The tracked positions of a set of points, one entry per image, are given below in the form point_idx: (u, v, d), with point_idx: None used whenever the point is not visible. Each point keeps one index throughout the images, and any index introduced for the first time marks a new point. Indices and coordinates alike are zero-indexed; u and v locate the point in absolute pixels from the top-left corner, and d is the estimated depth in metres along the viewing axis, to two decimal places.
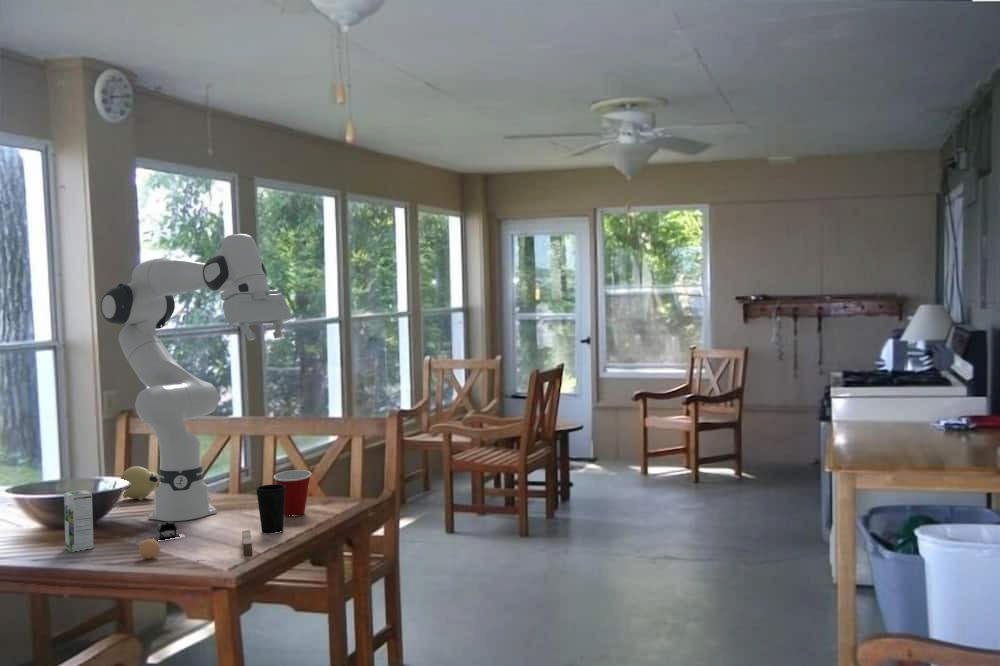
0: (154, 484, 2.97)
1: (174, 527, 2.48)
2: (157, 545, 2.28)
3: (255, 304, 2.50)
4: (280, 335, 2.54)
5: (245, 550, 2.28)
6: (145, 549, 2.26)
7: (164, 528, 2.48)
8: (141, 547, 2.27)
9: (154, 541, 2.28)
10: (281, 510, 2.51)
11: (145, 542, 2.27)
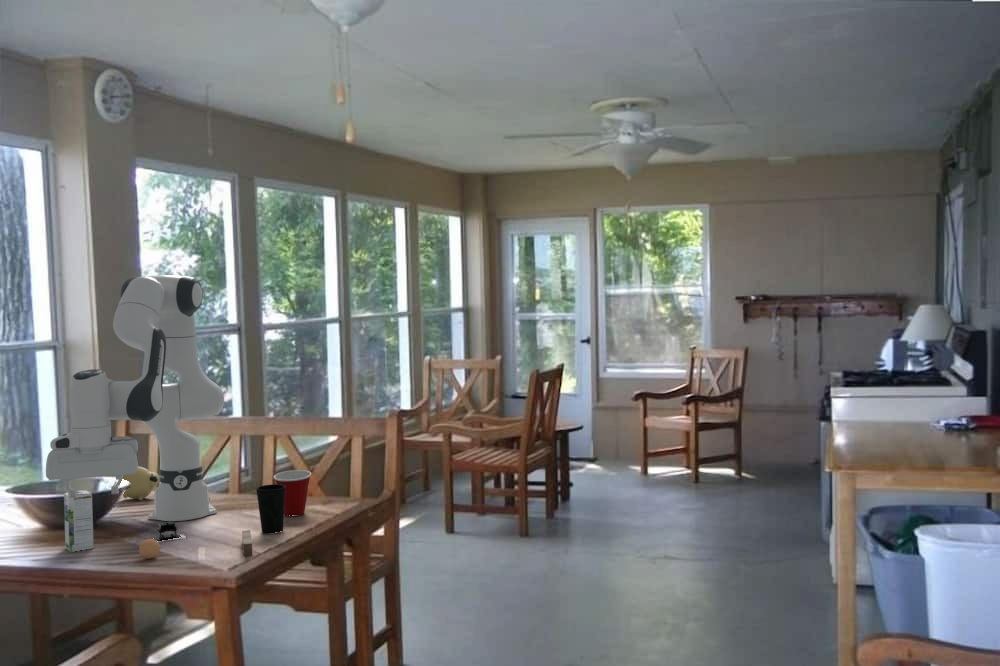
0: (154, 484, 2.97)
1: (174, 527, 2.47)
2: (157, 545, 2.28)
3: (84, 458, 2.22)
4: (114, 492, 2.25)
5: (245, 550, 2.28)
6: (145, 549, 2.26)
7: (164, 528, 2.47)
8: (141, 547, 2.27)
9: (154, 541, 2.28)
10: (281, 510, 2.51)
11: (145, 542, 2.27)
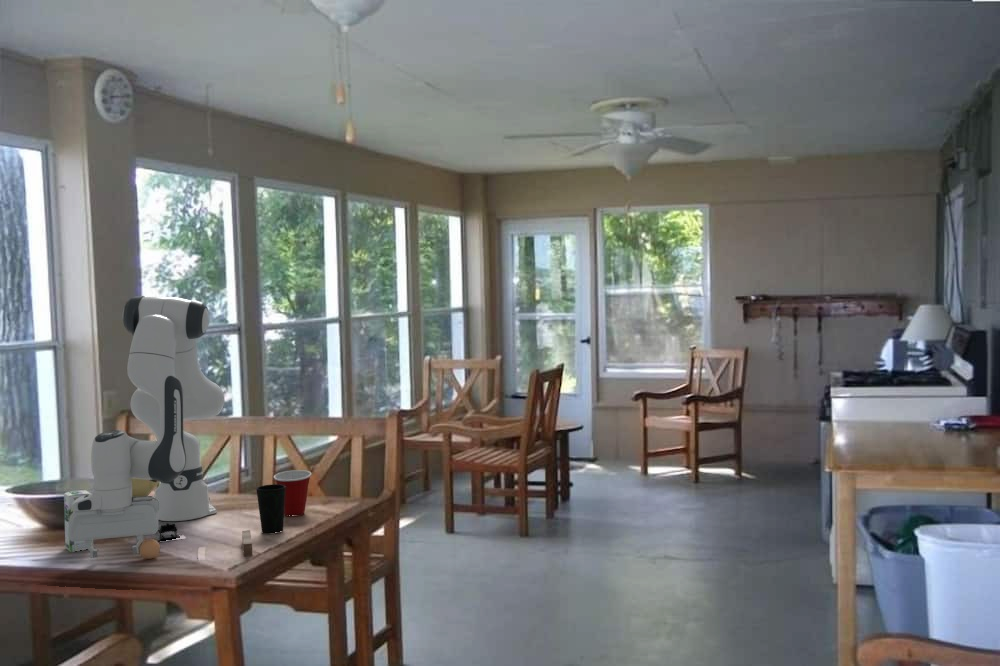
0: (154, 484, 2.97)
1: (174, 528, 2.47)
2: (157, 545, 2.28)
3: (106, 519, 2.24)
4: (135, 552, 2.27)
5: (245, 550, 2.28)
6: (145, 549, 2.26)
7: (164, 529, 2.47)
8: (141, 547, 2.27)
9: (154, 541, 2.28)
10: (281, 510, 2.51)
11: (145, 542, 2.27)
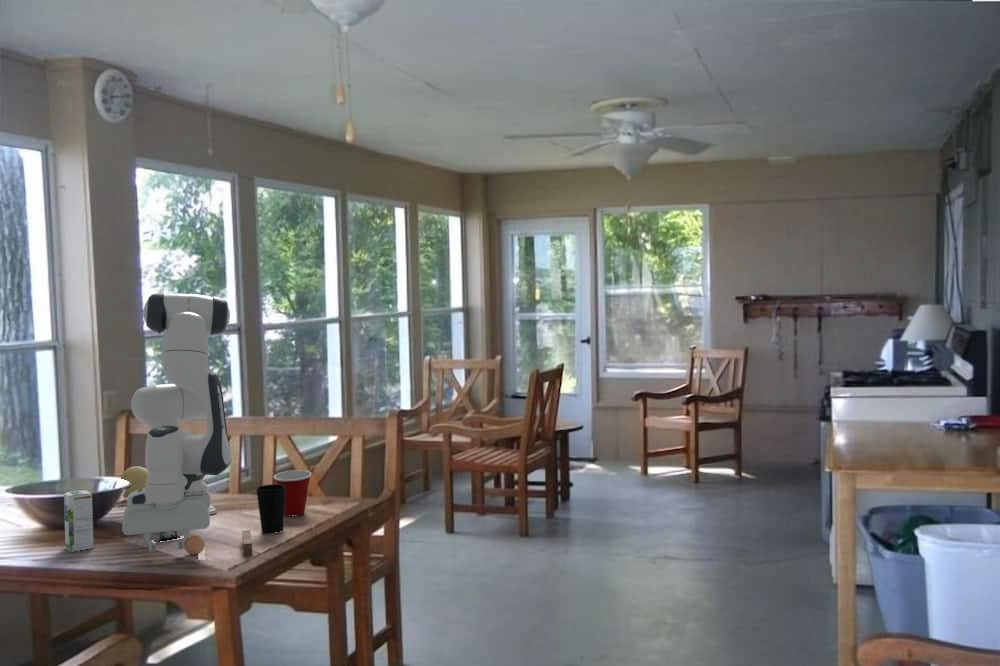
0: None
1: None
2: (190, 553, 2.30)
3: (159, 513, 2.27)
4: (181, 547, 2.30)
5: (245, 550, 2.28)
6: (197, 547, 2.29)
7: None
8: (202, 544, 2.30)
9: None
10: (281, 510, 2.51)
11: (201, 549, 2.31)
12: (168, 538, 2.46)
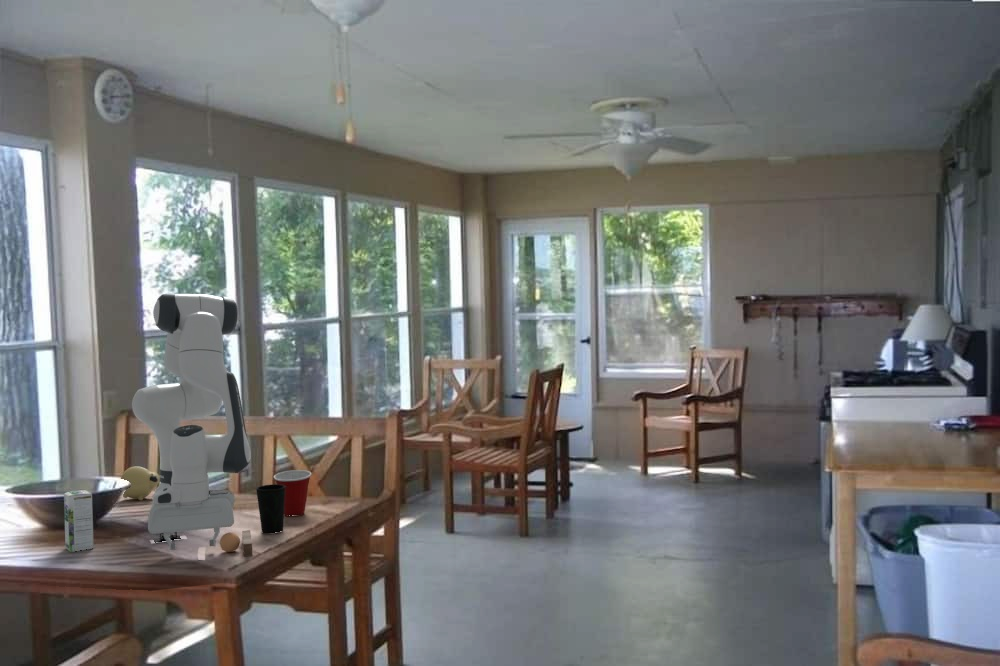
0: (154, 484, 2.97)
1: None
2: (228, 535, 2.31)
3: (184, 512, 2.29)
4: (212, 545, 2.32)
5: (245, 550, 2.28)
6: (227, 546, 2.30)
7: None
8: (225, 549, 2.31)
9: (223, 536, 2.31)
10: (281, 510, 2.51)
11: (221, 545, 2.31)
12: None
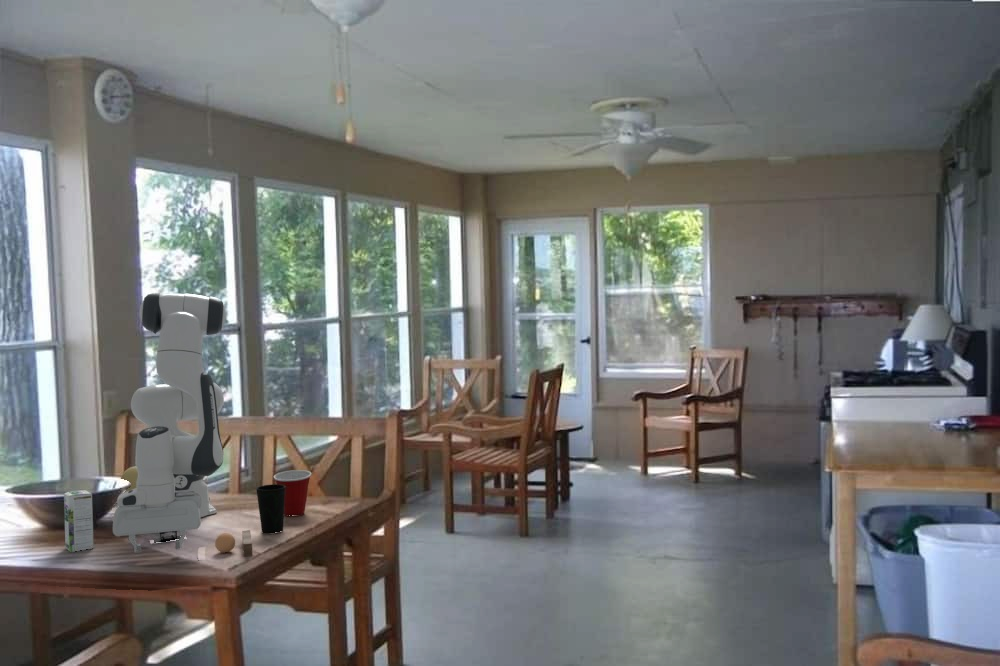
0: None
1: None
2: (219, 537, 2.31)
3: (149, 514, 2.27)
4: (178, 547, 2.30)
5: (245, 550, 2.28)
6: (224, 548, 2.30)
7: None
8: (223, 551, 2.31)
9: (216, 541, 2.31)
10: (281, 510, 2.51)
11: (218, 549, 2.31)
12: (168, 539, 2.45)
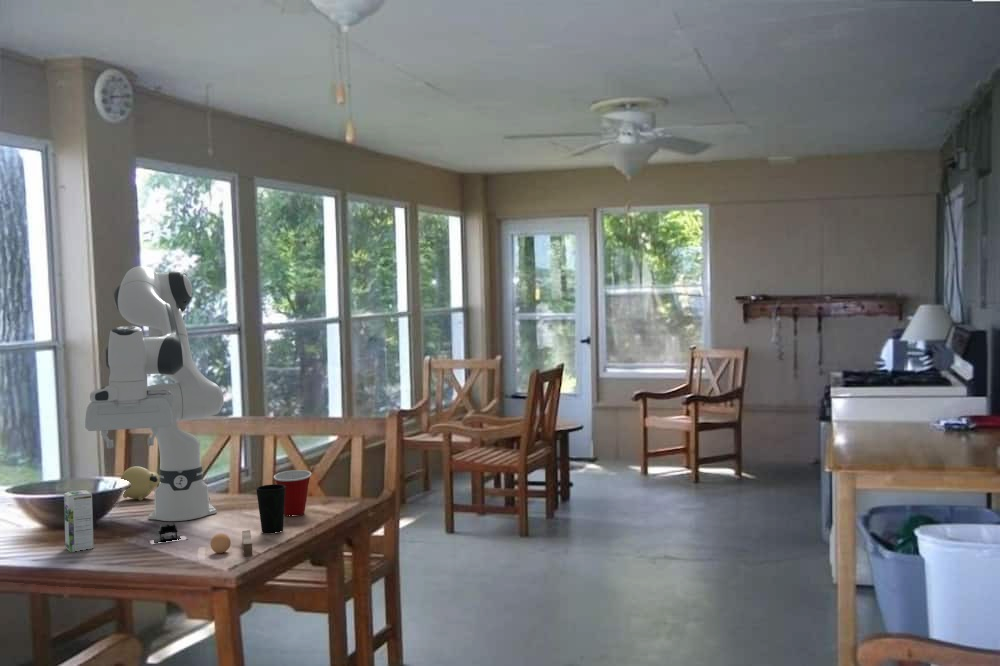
0: (154, 484, 2.97)
1: (175, 529, 2.46)
2: (212, 541, 2.30)
3: (122, 410, 2.31)
4: (150, 444, 2.35)
5: (245, 550, 2.28)
6: (220, 548, 2.30)
7: (165, 530, 2.46)
8: (222, 551, 2.31)
9: (211, 545, 2.31)
10: (281, 510, 2.51)
11: (216, 552, 2.31)
12: (168, 539, 2.45)
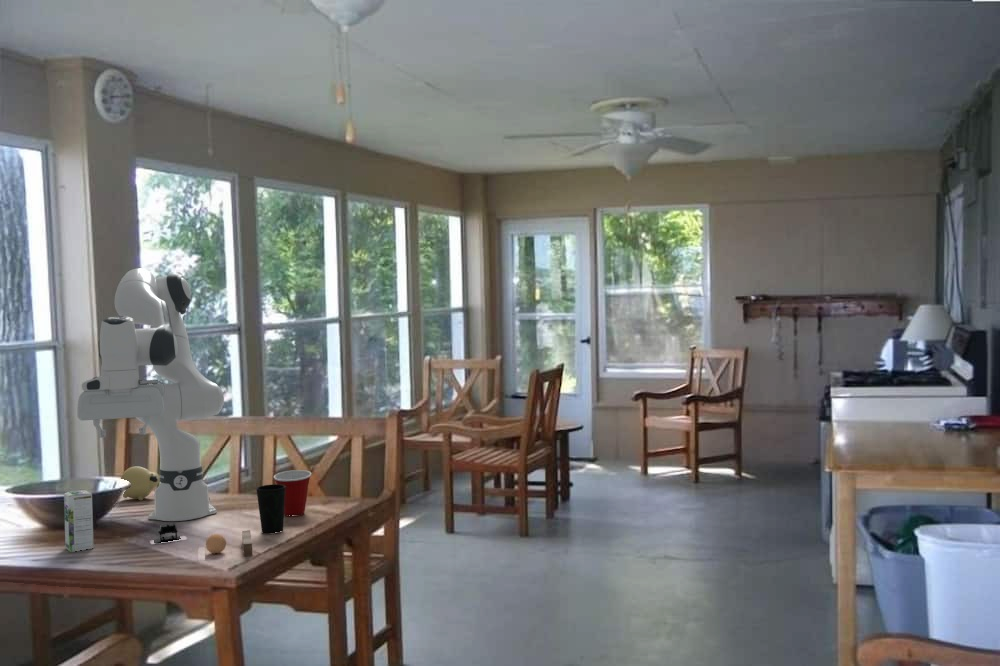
0: (154, 484, 2.97)
1: (175, 529, 2.45)
2: (207, 545, 2.30)
3: (113, 400, 2.33)
4: (142, 433, 2.36)
5: (245, 550, 2.28)
6: (217, 548, 2.30)
7: (165, 530, 2.46)
8: (221, 550, 2.31)
9: (208, 549, 2.30)
10: (281, 510, 2.51)
11: None
12: (168, 539, 2.45)
